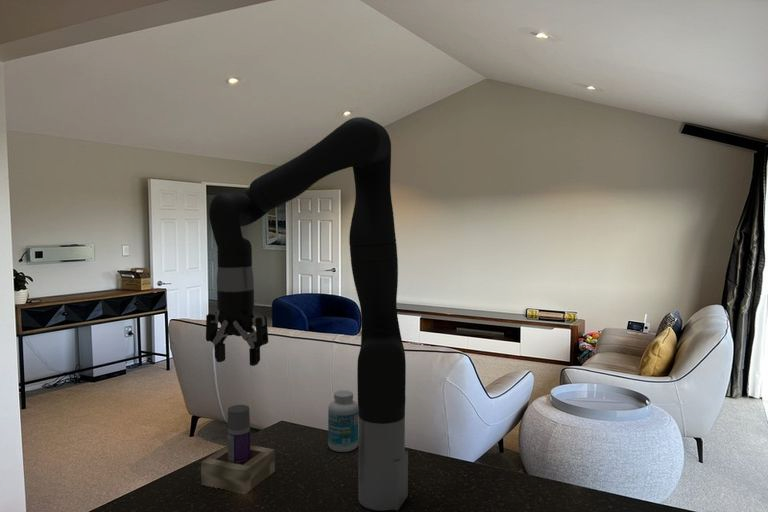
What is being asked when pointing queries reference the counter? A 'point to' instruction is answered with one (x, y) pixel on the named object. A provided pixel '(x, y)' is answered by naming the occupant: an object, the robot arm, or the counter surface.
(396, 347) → the robot arm
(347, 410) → the pill bottle
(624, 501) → the counter surface
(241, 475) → the socket block
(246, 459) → the container
